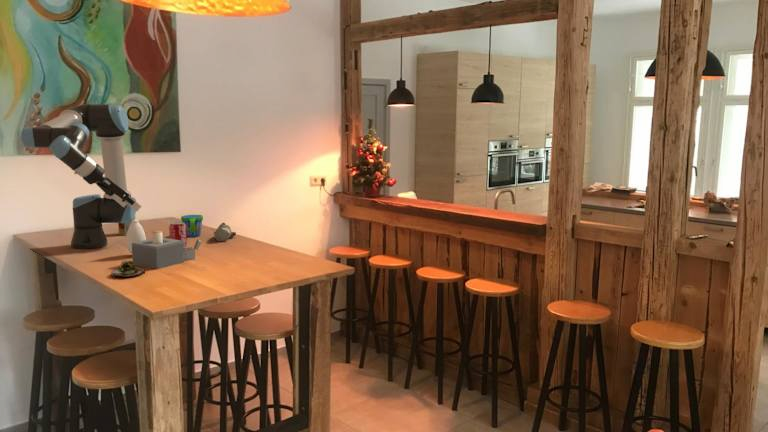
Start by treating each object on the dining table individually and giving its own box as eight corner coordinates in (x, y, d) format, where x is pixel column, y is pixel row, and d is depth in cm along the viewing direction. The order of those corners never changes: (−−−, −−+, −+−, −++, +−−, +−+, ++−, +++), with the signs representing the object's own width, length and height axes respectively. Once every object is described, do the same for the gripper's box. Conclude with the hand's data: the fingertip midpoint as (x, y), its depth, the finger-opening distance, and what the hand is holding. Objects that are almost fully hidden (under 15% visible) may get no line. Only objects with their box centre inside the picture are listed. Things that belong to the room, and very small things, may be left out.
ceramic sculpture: (209, 224, 289) (215, 220, 304) (209, 242, 290) (215, 238, 305) (232, 224, 290) (237, 221, 305) (232, 242, 291) (237, 238, 306)
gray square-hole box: (132, 264, 245) (131, 242, 243) (160, 257, 257) (159, 237, 256) (157, 269, 238) (156, 246, 237) (184, 262, 251) (183, 240, 249)
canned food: (130, 231, 312) (128, 209, 311) (138, 233, 308) (137, 210, 306) (115, 234, 306) (114, 210, 304) (124, 236, 302) (123, 212, 300)
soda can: (181, 253, 266) (180, 224, 264) (166, 252, 267) (165, 223, 265) (190, 250, 273) (189, 221, 270) (175, 249, 274) (174, 221, 272)
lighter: (185, 260, 253) (185, 241, 252) (184, 259, 255) (183, 241, 254) (202, 258, 258) (201, 239, 257) (200, 257, 259) (200, 239, 258)
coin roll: (151, 261, 247) (149, 232, 245) (158, 259, 250) (157, 230, 248) (158, 262, 245) (156, 233, 243) (165, 260, 248) (164, 231, 246)
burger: (111, 280, 222) (109, 261, 221) (111, 273, 232) (110, 254, 231) (146, 277, 227) (145, 258, 225) (144, 270, 237) (143, 251, 236)
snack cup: (183, 233, 311) (182, 213, 310) (204, 232, 314) (204, 213, 312) (180, 239, 296) (179, 218, 295) (202, 238, 298) (201, 218, 297)
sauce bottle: (142, 252, 266) (140, 212, 264) (149, 255, 261) (147, 214, 258) (124, 255, 261) (121, 214, 258) (131, 258, 256) (129, 216, 253)
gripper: (72, 175, 233) (114, 210, 245) (93, 181, 215) (137, 218, 227) (85, 160, 236) (127, 196, 248) (107, 165, 218) (151, 203, 230)
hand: (132, 206), depth 238 cm, fingers open, 13 cm apart
